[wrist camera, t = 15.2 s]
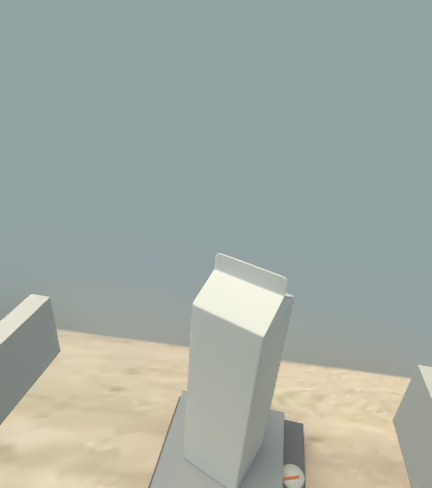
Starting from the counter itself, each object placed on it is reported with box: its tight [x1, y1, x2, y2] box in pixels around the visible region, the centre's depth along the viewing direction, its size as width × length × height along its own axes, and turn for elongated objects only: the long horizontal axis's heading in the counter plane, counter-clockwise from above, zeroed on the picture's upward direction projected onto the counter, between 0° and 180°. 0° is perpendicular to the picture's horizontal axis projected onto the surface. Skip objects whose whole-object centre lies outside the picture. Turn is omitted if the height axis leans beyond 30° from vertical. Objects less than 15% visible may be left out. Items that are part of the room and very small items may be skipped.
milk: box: [183, 253, 295, 488], centre depth 31 cm, size 6×6×22 cm
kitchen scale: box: [148, 391, 305, 488], centre depth 37 cm, size 15×13×4 cm
